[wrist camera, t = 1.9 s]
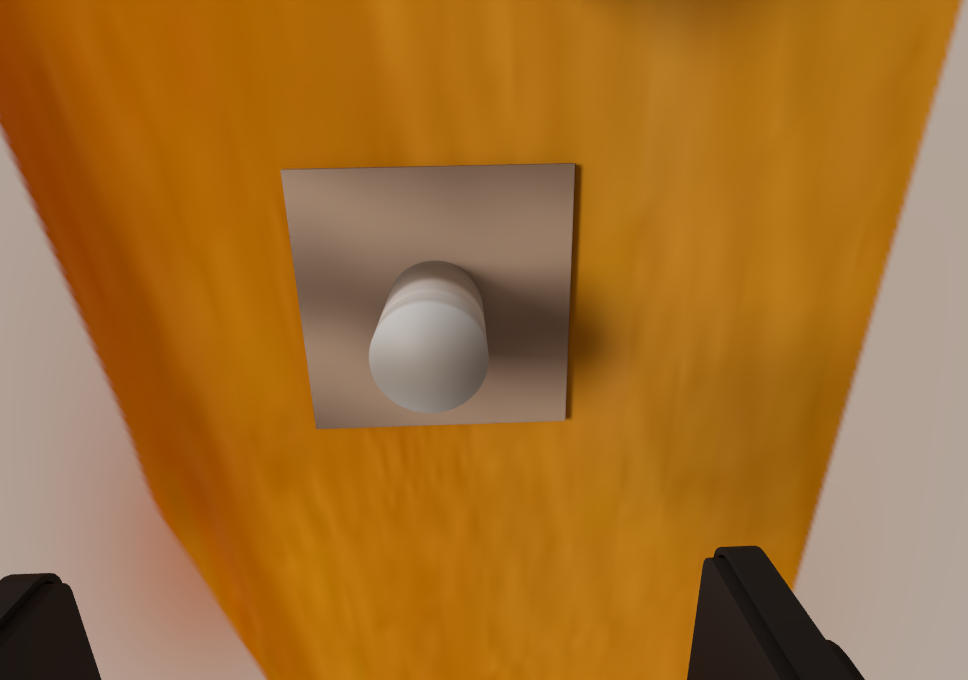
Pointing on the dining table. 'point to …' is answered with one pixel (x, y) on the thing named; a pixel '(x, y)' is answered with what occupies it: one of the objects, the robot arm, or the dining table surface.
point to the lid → (433, 291)
